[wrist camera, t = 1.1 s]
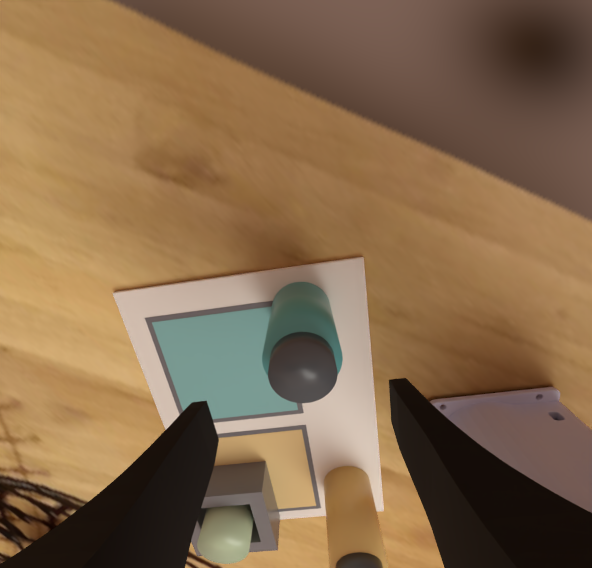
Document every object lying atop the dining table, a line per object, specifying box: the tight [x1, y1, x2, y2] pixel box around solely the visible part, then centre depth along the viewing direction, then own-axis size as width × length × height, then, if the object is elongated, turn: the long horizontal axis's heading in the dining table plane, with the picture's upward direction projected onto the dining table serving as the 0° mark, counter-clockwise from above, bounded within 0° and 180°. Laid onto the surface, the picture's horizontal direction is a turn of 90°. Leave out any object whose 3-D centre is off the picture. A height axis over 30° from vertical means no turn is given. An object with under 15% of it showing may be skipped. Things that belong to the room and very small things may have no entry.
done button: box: [197, 504, 254, 564], centre depth 25 cm, size 4×4×3 cm
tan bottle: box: [324, 466, 388, 568], centre depth 23 cm, size 4×4×7 cm
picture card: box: [113, 257, 384, 520], centre depth 24 cm, size 17×24×1 cm
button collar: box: [191, 461, 280, 556], centre depth 26 cm, size 7×7×3 cm
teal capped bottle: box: [262, 282, 343, 403], centre depth 17 cm, size 4×4×7 cm
